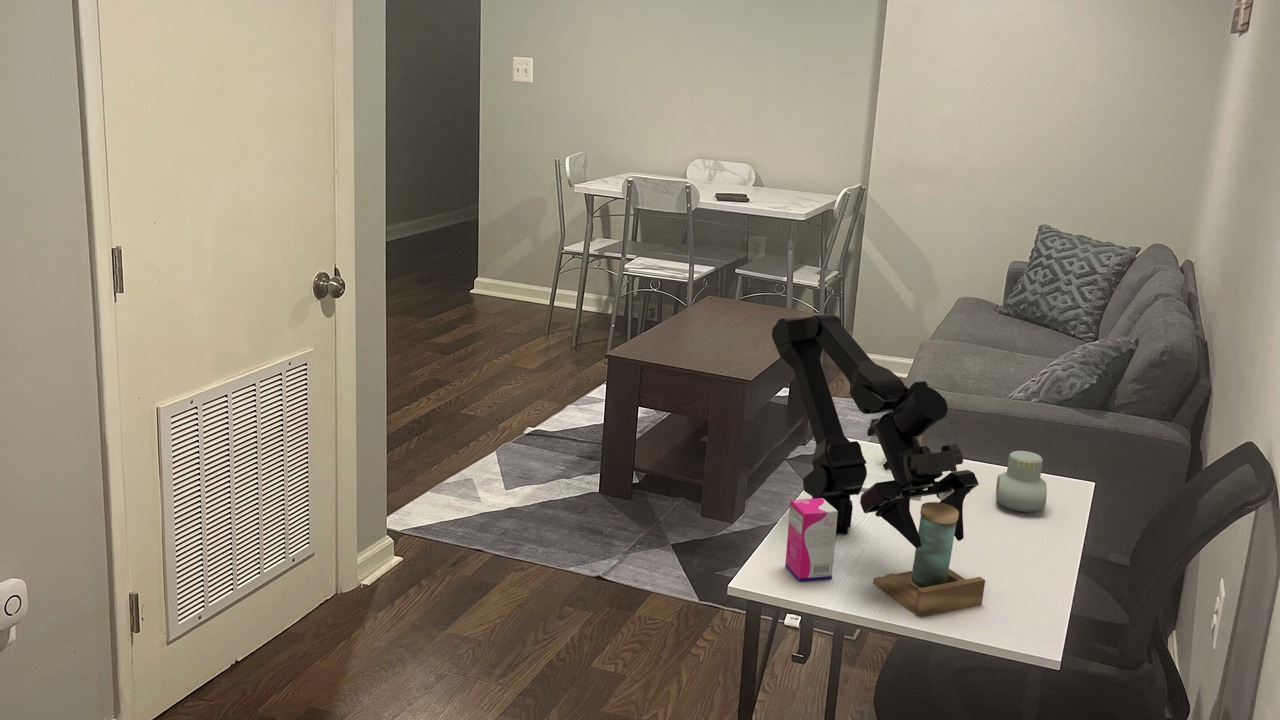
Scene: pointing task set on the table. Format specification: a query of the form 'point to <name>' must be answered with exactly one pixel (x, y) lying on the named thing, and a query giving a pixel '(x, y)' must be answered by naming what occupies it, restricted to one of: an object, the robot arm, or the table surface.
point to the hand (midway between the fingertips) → (940, 543)
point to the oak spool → (934, 544)
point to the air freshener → (1022, 483)
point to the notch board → (933, 593)
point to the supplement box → (811, 539)
